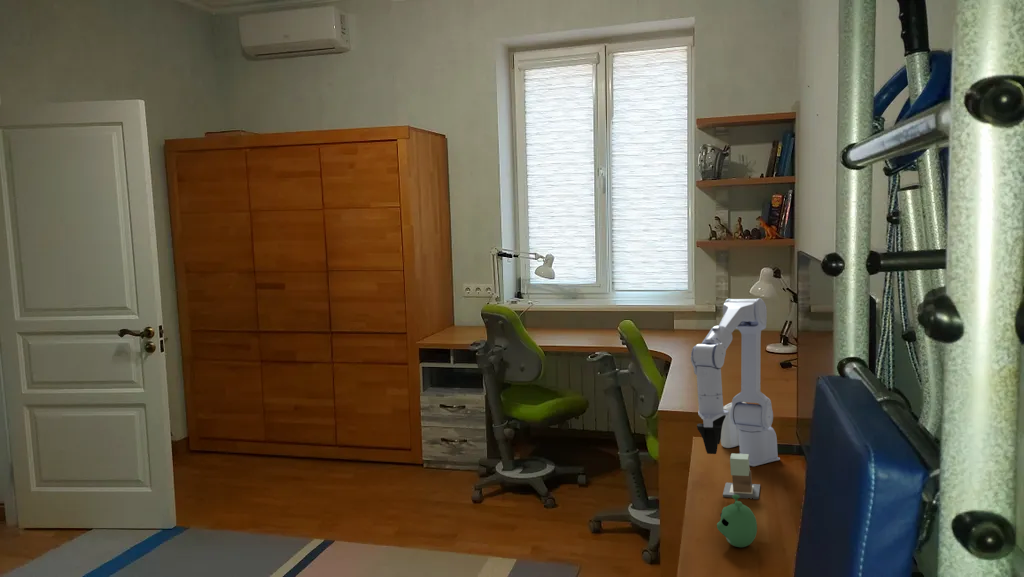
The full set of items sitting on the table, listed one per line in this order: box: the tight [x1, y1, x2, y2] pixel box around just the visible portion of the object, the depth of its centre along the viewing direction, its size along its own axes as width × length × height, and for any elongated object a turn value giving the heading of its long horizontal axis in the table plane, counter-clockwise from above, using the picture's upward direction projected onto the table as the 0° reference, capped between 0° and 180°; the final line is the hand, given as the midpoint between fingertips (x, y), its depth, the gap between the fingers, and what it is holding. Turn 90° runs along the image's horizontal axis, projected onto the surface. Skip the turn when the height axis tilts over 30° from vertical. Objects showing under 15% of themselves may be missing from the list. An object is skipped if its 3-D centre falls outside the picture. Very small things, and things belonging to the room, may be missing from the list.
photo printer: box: [720, 401, 746, 449], centre depth 203 cm, size 10×4×12 cm, turn 123°
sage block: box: [729, 452, 751, 476], centre depth 167 cm, size 4×4×4 cm
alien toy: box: [716, 495, 758, 548], centre depth 139 cm, size 7×8×10 cm
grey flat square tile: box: [722, 482, 761, 500], centre depth 167 cm, size 8×8×1 cm
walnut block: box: [731, 470, 753, 493], centre depth 167 cm, size 4×4×4 cm
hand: (713, 448), depth 169 cm, fingers open, 7 cm apart
